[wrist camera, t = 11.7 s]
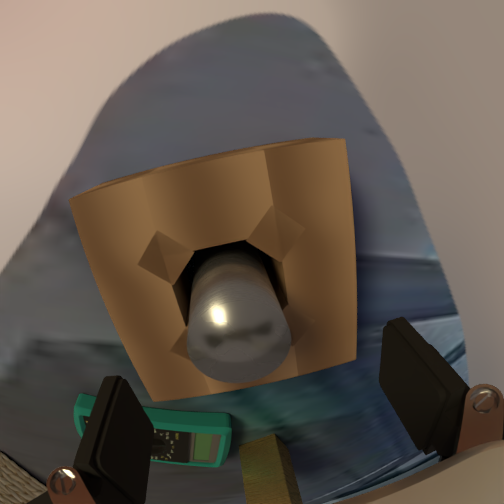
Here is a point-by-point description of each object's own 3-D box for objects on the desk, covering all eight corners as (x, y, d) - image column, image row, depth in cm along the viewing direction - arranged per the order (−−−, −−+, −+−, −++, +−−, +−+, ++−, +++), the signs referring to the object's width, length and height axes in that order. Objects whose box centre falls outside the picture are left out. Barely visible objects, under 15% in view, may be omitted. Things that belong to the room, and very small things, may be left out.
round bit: (252, 222, 19) (284, 290, 11) (262, 279, 21) (295, 371, 12) (188, 235, 19) (173, 313, 11) (203, 291, 20) (202, 390, 12)
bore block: (311, 137, 18) (344, 138, 13) (330, 318, 22) (356, 359, 18) (102, 183, 17) (68, 199, 12) (161, 353, 22) (153, 401, 17)
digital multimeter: (74, 387, 23) (65, 409, 20) (232, 408, 25) (235, 433, 23) (88, 431, 25) (82, 451, 23) (223, 449, 28) (225, 471, 25)
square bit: (274, 433, 27) (292, 508, 19) (288, 448, 28) (306, 516, 20) (238, 445, 27) (249, 519, 19) (255, 460, 29) (267, 527, 20)
